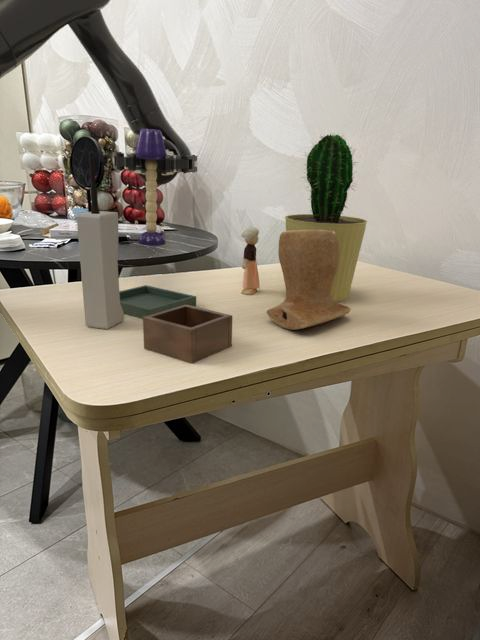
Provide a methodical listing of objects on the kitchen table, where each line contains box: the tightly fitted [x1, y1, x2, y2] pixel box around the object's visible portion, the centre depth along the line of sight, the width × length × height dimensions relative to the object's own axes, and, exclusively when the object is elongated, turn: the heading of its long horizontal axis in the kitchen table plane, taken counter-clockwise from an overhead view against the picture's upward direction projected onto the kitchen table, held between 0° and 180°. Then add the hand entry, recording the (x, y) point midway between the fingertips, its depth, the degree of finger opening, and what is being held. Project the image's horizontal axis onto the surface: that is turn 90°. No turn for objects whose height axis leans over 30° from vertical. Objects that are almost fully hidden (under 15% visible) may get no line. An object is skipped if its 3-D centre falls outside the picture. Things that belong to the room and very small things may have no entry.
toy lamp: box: [135, 129, 167, 247], centre depth 79 cm, size 5×5×17 cm
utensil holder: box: [76, 151, 125, 330], centre depth 76 cm, size 4×5×25 cm
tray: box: [119, 284, 197, 319], centre depth 90 cm, size 12×11×2 cm
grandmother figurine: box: [240, 226, 260, 296], centre depth 101 cm, size 8×4×13 cm, turn 179°
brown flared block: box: [266, 230, 352, 331], centre depth 84 cm, size 15×12×15 cm
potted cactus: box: [284, 132, 368, 303], centre depth 98 cm, size 15×15×30 cm
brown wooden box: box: [142, 304, 233, 364], centre depth 72 cm, size 9×9×4 cm
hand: (149, 163), depth 75 cm, fingers closed on toy lamp, 4 cm apart
